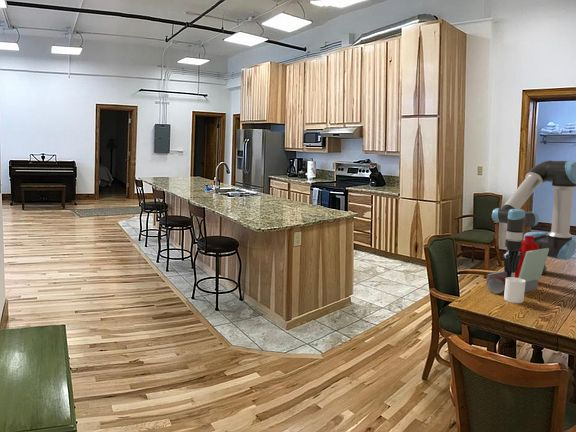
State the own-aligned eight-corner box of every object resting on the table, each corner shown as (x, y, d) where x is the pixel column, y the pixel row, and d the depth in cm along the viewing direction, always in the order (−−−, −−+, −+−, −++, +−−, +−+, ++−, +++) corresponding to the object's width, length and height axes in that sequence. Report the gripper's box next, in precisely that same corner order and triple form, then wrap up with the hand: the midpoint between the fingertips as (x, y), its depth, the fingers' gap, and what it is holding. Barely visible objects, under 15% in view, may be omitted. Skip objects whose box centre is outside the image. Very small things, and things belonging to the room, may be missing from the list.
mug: (515, 276, 222) (512, 282, 214) (511, 291, 224) (508, 297, 216) (492, 270, 228) (488, 275, 220) (489, 284, 230) (485, 290, 222)
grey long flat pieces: (507, 280, 242) (508, 269, 241) (537, 289, 228) (538, 277, 227) (486, 285, 233) (487, 274, 232) (516, 294, 219) (517, 282, 218)
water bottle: (522, 277, 249) (526, 233, 245) (538, 282, 239) (543, 237, 235) (508, 278, 246) (513, 233, 242) (525, 284, 236) (529, 237, 232)
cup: (503, 301, 208) (505, 280, 206) (503, 294, 218) (505, 274, 217) (523, 304, 204) (525, 283, 203) (522, 297, 215) (525, 276, 213)
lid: (547, 247, 222) (549, 248, 221) (538, 277, 227) (540, 278, 226) (526, 251, 213) (528, 252, 212) (517, 282, 218) (519, 283, 217)
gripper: (514, 237, 232) (510, 281, 235) (499, 239, 225) (494, 284, 229) (528, 240, 225) (523, 285, 229) (513, 242, 219) (508, 288, 222)
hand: (509, 284), depth 229 cm, fingers closed
